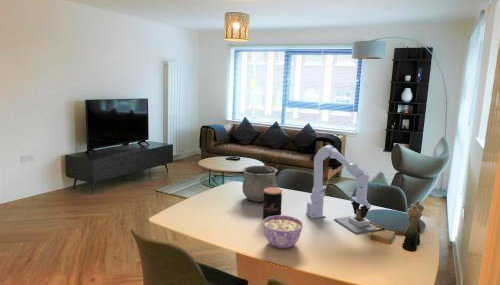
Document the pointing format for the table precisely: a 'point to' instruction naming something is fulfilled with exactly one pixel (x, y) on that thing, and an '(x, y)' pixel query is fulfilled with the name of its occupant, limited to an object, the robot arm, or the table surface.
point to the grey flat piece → (355, 224)
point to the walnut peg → (358, 215)
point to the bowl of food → (282, 230)
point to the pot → (258, 181)
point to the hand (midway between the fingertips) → (359, 215)
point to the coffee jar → (272, 202)
